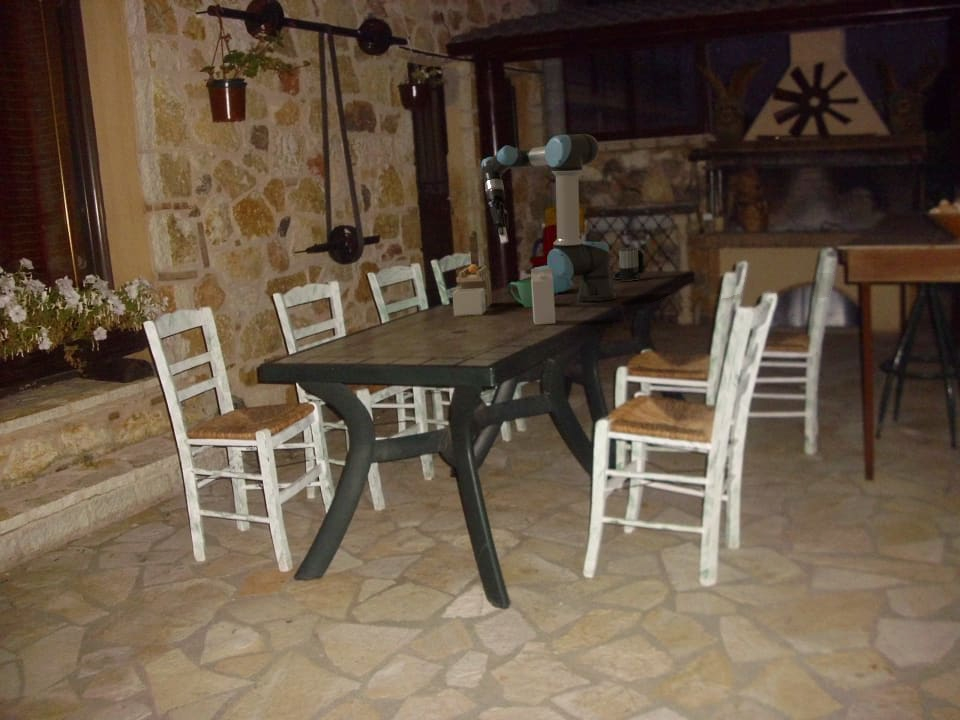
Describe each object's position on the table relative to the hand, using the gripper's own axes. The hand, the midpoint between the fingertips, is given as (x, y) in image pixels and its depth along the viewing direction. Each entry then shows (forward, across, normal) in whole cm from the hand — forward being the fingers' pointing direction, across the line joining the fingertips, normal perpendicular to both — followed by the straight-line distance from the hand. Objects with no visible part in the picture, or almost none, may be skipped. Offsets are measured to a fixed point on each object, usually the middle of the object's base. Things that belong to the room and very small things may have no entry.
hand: (504, 242), depth 390 cm
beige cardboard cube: (+33, +18, -11) cm, 39 cm away
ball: (+12, +11, -10) cm, 19 cm away
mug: (+30, -1, +3) cm, 30 cm away
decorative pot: (+13, -34, +1) cm, 37 cm away
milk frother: (+2, -74, +20) cm, 77 cm away
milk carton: (+54, +31, +25) cm, 67 cm away
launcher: (+25, +6, -15) cm, 30 cm away
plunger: (+11, +6, -12) cm, 17 cm away
